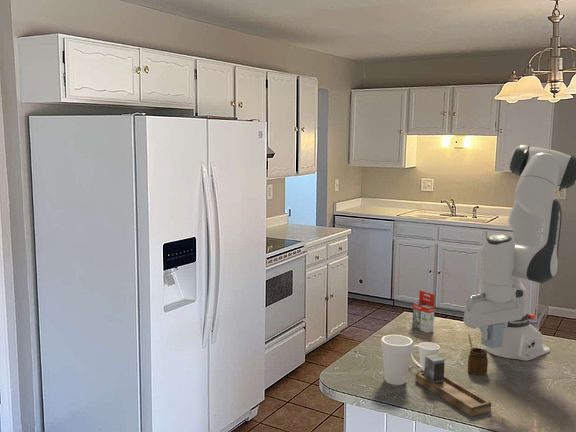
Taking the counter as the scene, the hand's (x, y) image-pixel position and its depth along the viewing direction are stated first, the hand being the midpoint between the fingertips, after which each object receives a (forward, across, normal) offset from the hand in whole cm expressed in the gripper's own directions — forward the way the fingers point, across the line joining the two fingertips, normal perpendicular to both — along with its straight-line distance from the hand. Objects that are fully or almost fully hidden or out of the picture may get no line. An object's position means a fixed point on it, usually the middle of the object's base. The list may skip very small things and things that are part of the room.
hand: (492, 337), depth 165 cm
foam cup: (+17, -20, +19) cm, 32 cm away
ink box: (+17, +17, +52) cm, 58 cm away
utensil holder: (+17, +8, +13) cm, 23 cm away
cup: (+17, -6, +22) cm, 29 cm away
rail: (+17, -11, +4) cm, 21 cm away
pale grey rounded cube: (+2, 0, 0) cm, 2 cm away
